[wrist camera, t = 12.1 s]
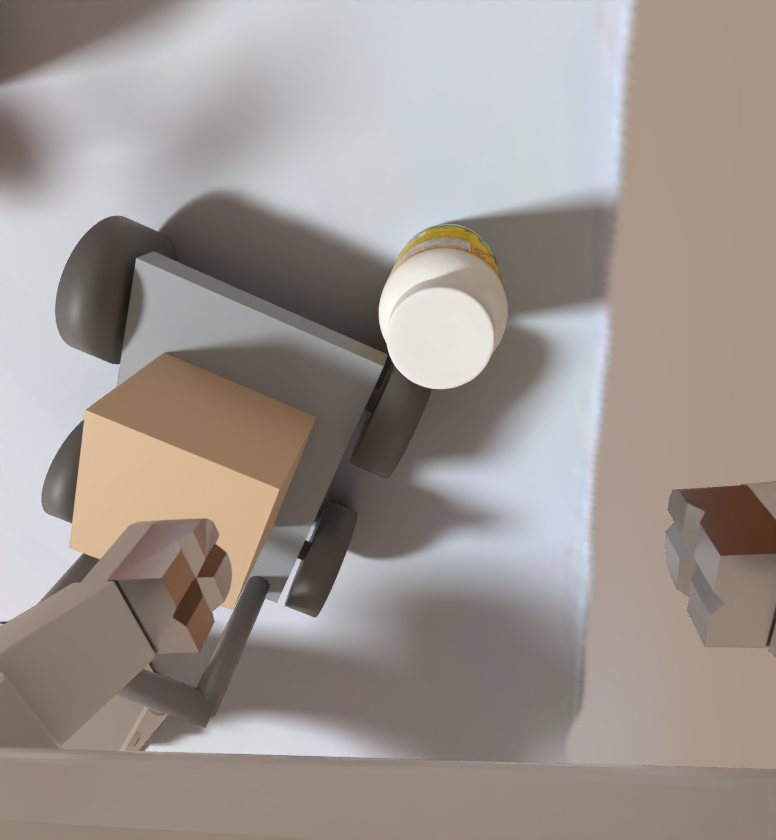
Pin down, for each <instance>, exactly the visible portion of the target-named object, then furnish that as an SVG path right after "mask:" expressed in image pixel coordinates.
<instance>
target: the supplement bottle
mask: <svg viewBox="0 0 776 840" xmlns="http://www.w3.org/2000/svg"><path fill="white" fill-rule="evenodd" d="M507 319H508V303H507V298H506V293H505V290H504V286H503V282H502V278H501V275H500V271H499V267H498V263H497V260H496V258H495V255H494V253H493V251H492V250H491V248H490V247H489V246H488V244H487V243H486V242H485V241H484V240H483V238H482V237H481V236H479V235H478V234H477V233H476V232H474V231H473V230H471V229H469V228H467V227H464V226H461V225H456V224H440V225H435V226H432V227H429V228H427V229H425V230H423V231H421V232H419V233H418V234H416V235H415V236H414V237H413V238H412V239H411V240H410V241H409V242H408V243H407V244H406V246H405V247H404V248H403V250H402V252H401V253H400V255H399V257H398V259H397V261H396V263H395V265H394V267H393V269H392V271H391V274H390V276H389V278H388V280H387V282H386V284H385V286H384V289H383V292H382V294H381V298H380V304H379V323H380V328H381V332H382V335H383V337H384V339H385V341H386V343H387V348H388V352H389V355H390V358H391V360H392V361H393V363H394V365H395V366H396V368H397V369H398V370H399V371H400V372H401V373H402V374H403V375H404V376H405V377H406V378H408V379H409V380H410V381H412V382H414V383H416V384H418V385H420V386H423V387H427V388H431V389H449V388H455V387H458V386H461V385H463V384H465V383H467V382H469V381H471V380H473V379H474V378H475V377H476V376H478V375H479V374H480V373H481V372H482V371H483V369H484V368H485V367H486V365H487V364H488V362H489V360H490V358H491V356H492V353H493V352H494V351H495V350H496V348H497V347H498V345H499V343H500V342H501V340H502V337H503V335H504V332H505V329H506V325H507Z"/></svg>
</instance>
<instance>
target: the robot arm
mask: <svg viewBox="0 0 776 840" xmlns="http://www.w3.org/2000/svg"><path fill="white" fill-rule="evenodd" d="M668 511H669V513H670V515H671V517H672V519H673V521H674V523H673V524H672V525H671V526H670V527H669V528H668V529H667V530H666V531H665V547H664V548H665V555H666V563H667V567H668V570H669V573H670V576H671V578H672V580H673V583H674V585H675V587H676V589H678V590H679V591H681V592H682V593H684V594H685V595H687V596H688V597H689V600H688V607H687V612H688V614H689V616H690V618H691V620H692V622H693V624H694V626H695V628H696V630H697V632H698V634H699V636H700V638H701V640H702V642H703V644H704V646H705V647H741V648H744V647H745V648H769V652H771V653H772V654H773V655H774V656H776V481H771V482H760V483H748V484H741V485H736V486H721V487H707V488H691V489H676V490H672V492H671V494H670V497H669V503H668ZM218 538H219V532H218V530H217V528H216V526H215V524H214V522H213V521H211V520H209V519H206V518H202V519H176V520H160V521H138V522H135V523H133V524H130V525H129V526H128V527H127V528H126V530H125V531H124V532H123V533H122V534H121V535H120V537H119V538H118V539H117V540H116V541H115V542H114V544H113V545H112V546H111V547H110V548H109V550H108V551H107V552H106V553H105V554H104V555H103V557H102V558H101V559H100V560H99V561H98V562H97V564H96V565H95V566H94V567H93V568H92V569H91V571H90V572H89V573H88V574H87V575H86V577H85V578H84V579H83V580H82V581H81V582H80V583H72V584H70V585H69V586H67V587H65V588H64V589H62V590H60V591H59V592H57V593H55V594H54V595H52V596H50V597H49V598H47V599H45V600H44V601H42V602H40V603H39V604H37V605H35V606H34V607H32V608H30V609H29V610H27V611H25V612H24V613H22V614H20V615H19V616H17V617H15V618H14V619H12V620H10V621H9V622H7V623H5V624H0V840H776V769H752V768H751V769H750V768H717V767H682V766H644V765H607V764H571V763H533V762H496V761H459V760H423V759H390V758H356V757H322V756H289V755H255V754H220V753H185V752H150V751H139V749H140V748H141V747H142V746H143V745H144V743H145V742H146V741H147V740H148V738H149V737H150V736H151V735H152V734H153V732H154V731H155V730H156V729H157V728H158V726H159V725H160V724H161V723H162V722H163V720H164V719H165V718H166V717H167V716H168V714H166V713H163V712H160V711H157V710H155V709H152V708H149V707H146V706H144V705H141V704H138V703H135V702H132V701H130V700H127V699H124V698H121V697H119V696H116V694H117V693H118V692H119V691H120V690H121V689H122V688H123V687H125V686H126V685H127V684H128V683H129V682H130V681H131V680H132V679H133V678H134V677H135V676H136V675H137V674H138V673H139V672H140V671H141V670H143V669H145V670H148V671H151V672H153V670H152V668H151V667H150V665H149V663H150V662H151V661H152V660H153V659H154V658H155V657H156V654H170V653H194V652H199V651H200V650H201V648H202V646H203V644H204V642H205V640H206V638H207V636H208V634H209V632H210V630H211V628H212V626H213V624H214V622H215V621H214V618H213V614H212V611H214V610H215V609H216V608H217V607H219V606H220V605H221V604H222V603H224V602H225V600H226V597H227V595H228V593H229V591H230V587H231V581H232V567H231V562H230V559H229V557H228V554H227V552H226V551H224V550H223V549H222V548H220V547H219V546H218V545H217V544H216V542H217V540H218Z"/></svg>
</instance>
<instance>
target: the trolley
mask: <svg viewBox="0 0 776 840" xmlns="http://www.w3.org/2000/svg"><path fill="white" fill-rule="evenodd" d="M55 315H56V323H57V328H58V331H59V333H60V336H61V337H62V339H63V340H64V341H65V342H66V343H67V344H68V345H69V346H71V347H73V348H76V349H78V350H81V351H83V352H85V353H88V354H90V355H92V356H95V357H97V358H100V359H102V360H104V361H107V362H109V363H112V364H120V368H119V375H118V382H117V387H116V388H115V389H113V390H112V391H111V392H109V393H108V394H107V395H105V396H104V397H102V398H101V399H100V400H98V401H97V402H96V403H94V404H93V405H92V406H90V407H89V408H87V409H86V410H85V418H84V420H83V421H82V422H81V423H80V424H79V425H78V426H77V427H76V428H75V429H74V430H73V431H72V432H71V433H70V435H69V436H68V437H67V439H66V440H65V441H64V443H63V444H62V446H61V447H60V449H59V451H58V452H57V454H56V456H55V458H54V459H53V461H52V463H51V466H50V468H49V470H48V473H47V475H46V478H45V481H44V485H43V490H42V507H43V509H44V511H45V512H46V513H48V514H49V515H52V516H55V517H57V518H60V519H62V520H65V521H68V522H70V523H72V528H71V537H70V545H69V548H71V549H74V550H77V551H79V552H82V553H83V554H82V555H81V556H80V558H79V559H78V560H77V561H76V562H75V563H74V564H73V565H72V566H71V567H70V569H69V570H68V571H67V572H66V573H65V574H64V575H63V576H62V577H61V579H60V580H59V581H58V582H57V583H56V584H55V585H54V586H53V587H52V588H51V590H50V591H49V592H48V593H47V594H46V595H45V596H44V597H43V598H42V600H41V601H40V602H42V601H44V600H45V599H47V598H49V597H50V596H52V595H54V594H55V593H57V592H59V591H60V590H62V589H64V588H65V587H67V586H69V585H70V584H72V583H80V582H81V581H82V580H83V579H84V578H85V577H86V575H87V574H88V573H89V572H90V571H91V569H92V568H93V567H94V566H95V565H96V564H97V562H98V561H99V560H100V559H101V558H102V557H103V555H104V554H105V553H106V552H107V551H108V550H109V548H110V547H111V546H112V545H113V544H114V542H115V541H116V540H117V539H118V538H119V537H120V535H121V534H122V533H123V532H124V531H125V530H126V528H127V527H128V526H129V525H130V524H133V523H135V522H138V521H160V520H176V519H202V518H206V519H209V520H211V521H213V522H214V524H215V526H216V528H217V530H218V532H219V538H218V540H217V542H216V544H217V545H218V546H219V547H220V548H222V549H223V550H224V551H226V552H227V554H228V557H229V559H230V562H231V567H232V581H231V587H230V591H229V593H228V595H227V597H226V600H225V602H224V603H222V604H221V605H220V606H223V607H225V608H228V609H231V610H233V609H234V607H235V605H236V602H237V600H238V598H239V596H240V594H241V592H242V590H243V592H242V594H241V596H240V598H239V600H238V603H237V605H236V607H235V609H234V611H233V613H232V615H231V617H230V619H229V621H228V623H227V625H226V628H225V630H224V632H223V634H222V636H221V638H220V640H219V642H218V644H217V646H216V648H215V650H214V652H213V655H212V657H211V659H210V661H209V663H208V665H207V667H206V669H205V671H204V673H203V675H202V677H201V680H200V682H199V684H198V686H197V688H194V687H192V686H189V685H186V684H184V683H181V682H178V681H175V680H173V679H170V678H167V677H164V676H162V675H159V674H156V673H154V672H151V671H148V670H145V669H143V670H141V671H140V672H139V673H138V674H137V675H136V676H135V677H134V678H133V679H132V680H131V681H130V682H129V683H128V684H127V685H126V686H125V687H123V688H122V689H121V690H120V691H119V692H118V693H117V694H116V696H119V697H121V698H124V699H127V700H130V701H132V702H135V703H138V704H141V705H144V706H146V707H149V708H152V709H155V710H157V711H160V712H163V713H166V714H168V715H171V716H174V717H177V718H180V719H182V720H185V721H188V722H191V723H193V724H196V725H199V726H202V727H204V728H206V725H207V723H208V721H209V718H210V717H212V716H214V715H215V714H216V712H217V710H218V708H219V705H220V703H221V701H222V698H223V696H224V694H225V691H226V689H227V687H228V684H229V682H230V680H231V677H232V675H233V672H234V670H235V668H236V665H237V663H238V661H239V658H240V656H241V654H242V651H243V649H244V647H245V644H246V642H247V640H248V637H249V635H250V633H251V630H252V628H253V625H254V623H255V621H256V618H257V616H258V614H259V611H260V609H261V607H262V604H263V602H264V600H265V598H266V599H268V600H271V601H274V602H276V603H277V601H278V599H279V597H280V595H281V592H282V590H283V588H284V586H285V584H286V581H287V579H288V577H289V575H290V573H291V570H292V568H293V566H294V564H295V562H296V559H297V558H299V559H301V562H300V565H299V567H298V570H297V572H296V575H295V577H294V580H293V583H292V585H291V588H290V591H289V593H288V596H287V599H286V602H285V606H287V607H289V608H292V609H294V610H297V611H300V612H302V613H305V614H307V615H310V616H312V617H317V615H318V614H319V612H320V611H321V609H322V607H323V605H324V603H325V601H326V599H327V597H328V595H329V593H330V591H331V589H332V586H333V584H334V582H335V579H336V577H337V575H338V572H339V570H340V567H341V565H342V562H343V560H344V557H345V554H346V551H347V549H348V546H349V543H350V540H351V537H352V534H353V531H354V527H355V523H356V519H357V512H356V511H353V510H351V509H348V508H346V507H343V506H341V505H339V504H336V503H334V502H331V501H329V500H328V502H327V503H326V505H325V507H324V509H323V511H322V514H321V516H320V518H319V520H318V522H317V525H316V527H315V529H314V531H313V534H312V536H311V538H310V541H309V542H308V541H306V540H305V539H306V537H307V535H308V533H309V531H310V528H311V526H312V524H313V522H314V520H315V517H316V515H317V513H318V511H319V508H320V506H321V504H322V502H323V500H324V497H325V495H326V493H327V491H328V489H329V486H330V484H331V482H332V480H333V478H334V475H335V473H336V471H337V469H338V466H339V464H340V462H341V460H342V458H343V455H344V453H345V451H346V449H347V447H348V444H349V442H350V440H351V438H352V436H353V433H354V431H355V429H356V427H357V424H358V422H359V420H360V418H361V416H362V413H363V411H364V409H365V410H367V411H369V413H368V415H367V418H366V420H365V422H364V425H363V427H362V430H361V432H360V435H359V438H358V440H357V443H356V446H355V448H354V451H353V454H352V457H351V461H350V463H351V464H353V465H356V466H358V467H360V468H363V469H365V470H368V471H370V472H372V473H375V474H377V475H380V476H382V477H384V478H387V477H389V476H390V474H391V473H392V472H393V470H394V469H395V467H396V466H397V464H398V463H399V461H400V459H401V457H402V455H403V454H404V452H405V450H406V448H407V446H408V444H409V442H410V440H411V438H412V436H413V433H414V431H415V429H416V427H417V425H418V422H419V420H420V418H421V415H422V413H423V411H424V408H425V406H426V403H427V401H428V398H429V395H430V392H431V390H432V389H431V388H427V387H423V386H420V385H418V384H416V383H414V382H412V381H410V380H409V379H408V378H406V377H405V376H404V375H403V374H402V373H401V372H400V371H399V370H398V369H397V368H396V366H395V365H394V363H393V361H391V363H390V365H389V367H388V370H387V372H386V374H385V376H384V378H383V381H382V383H381V385H380V387H379V389H378V390H376V389H374V387H375V385H376V382H377V380H378V378H379V376H380V374H381V371H382V369H383V367H384V364H385V361H386V358H387V355H388V354H386V353H383V352H381V351H379V350H377V349H374V348H372V347H370V346H368V345H365V344H363V343H361V342H358V341H356V340H354V339H352V338H349V337H347V336H345V335H343V334H340V333H338V332H336V331H333V330H331V329H329V328H327V327H324V326H322V325H320V324H318V323H315V322H313V321H311V320H308V319H306V318H304V317H302V316H299V315H297V314H295V313H293V312H290V311H288V310H286V309H284V308H281V307H279V306H277V305H274V304H272V303H270V302H268V301H265V300H263V299H261V298H259V297H256V296H254V295H252V294H249V293H247V292H245V291H243V290H240V289H238V288H236V287H234V286H231V285H229V284H227V283H225V282H222V281H220V280H218V279H215V278H213V277H211V276H209V275H206V274H204V273H202V272H200V271H197V270H195V269H193V268H190V267H188V266H186V265H184V264H181V263H179V262H177V261H176V252H175V248H174V245H173V243H172V241H171V240H170V239H169V237H167V236H166V235H164V234H162V233H159V232H157V231H155V230H153V229H150V228H148V227H146V226H144V225H141V224H139V223H137V222H135V221H132V220H130V219H128V218H126V217H123V216H111V217H108V218H105V219H103V220H102V221H100V222H98V223H97V224H96V225H94V226H93V227H92V228H91V229H90V230H89V231H88V232H87V233H86V234H85V235H84V236H83V237H82V238H81V240H80V241H79V242H78V244H77V245H76V247H75V248H74V250H73V252H72V253H71V255H70V257H69V259H68V261H67V263H66V265H65V268H64V270H63V273H62V276H61V279H60V282H59V286H58V291H57V296H56V306H55ZM40 602H39V603H40ZM39 603H38V604H39Z"/></svg>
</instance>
